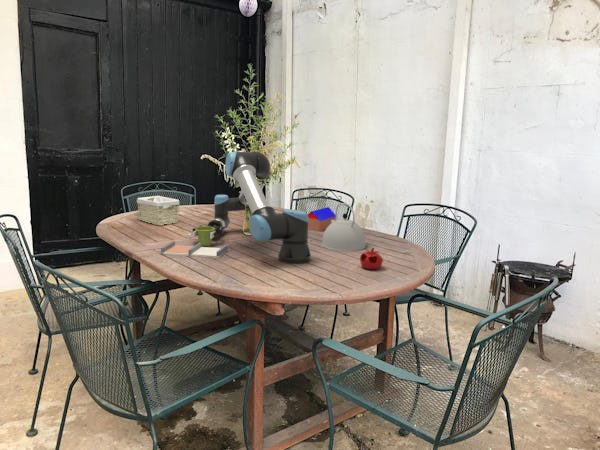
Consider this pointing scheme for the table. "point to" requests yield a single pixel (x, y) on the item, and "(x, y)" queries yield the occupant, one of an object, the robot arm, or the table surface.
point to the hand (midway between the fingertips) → (202, 235)
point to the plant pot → (204, 235)
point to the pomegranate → (371, 260)
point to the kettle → (344, 234)
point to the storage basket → (158, 210)
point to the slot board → (193, 250)
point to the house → (320, 219)
